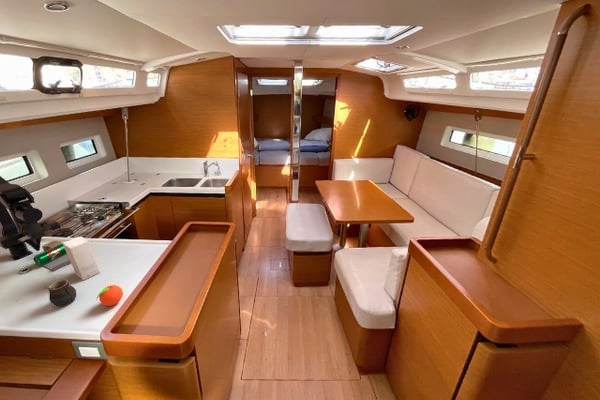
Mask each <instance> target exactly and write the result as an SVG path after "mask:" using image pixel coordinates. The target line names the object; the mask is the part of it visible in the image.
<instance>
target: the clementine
mask: <svg viewBox="0 0 600 400" xmlns="http://www.w3.org/2000/svg"><path fill="white" fill-rule="evenodd" d="M123 291H124V290H123V289H122V287H120V286H119V285H116V284H112V285H111V284H109V285H108V286H106V287H104V288H103V289H102V290H100V292H99V293H98V295H97V296H96V301H98V299H99V302H100V303H101V304H102V305H104V306H106V307H107V306H114V305H117V304H118V303H119V302H120V301H121V299H122V298H123V295H124V292H123Z"/></svg>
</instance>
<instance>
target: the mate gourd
mask: <svg viewBox="0 0 600 400" xmlns="http://www.w3.org/2000/svg"><path fill="white" fill-rule="evenodd" d="M44 289H47V290H48V291H49V297H48V298H49V300H48V301H49V302H50V303H51V304H52V305H54V307H65V306H68V305H70V304H72V303H73V302H74V301H75V300H76V298H77V289H76V288H74V286H73V285H71V284H70V282H69V280H68V279H60V280H56V281H54V282H52V283H51V284H50V285H49V286H48V287H46V286H45V287H44Z"/></svg>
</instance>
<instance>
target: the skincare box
mask: <svg viewBox="0 0 600 400" xmlns="http://www.w3.org/2000/svg"><path fill="white" fill-rule="evenodd" d="M62 244H63V246H64V248H65V250H66V253H67V255H68V257H69V259H70V262H71V264H70V265H71V266H72V268H73V271H74V273H75V275H76V276H77V277H78V278H80V279H81V280H82V281H86V280H88V279H89V278H92V277H94V276H97V275H99V274H100V273H101V270H100V267H99V266H98V263H97V261H96V258H95V255H94V253H93V249H92V248H91V246H90V242H89V240H87V239H85V238H84V237H82V236H81V235H80V236H78V237H75V238H72V239H70V240H66V241H64V242H62Z"/></svg>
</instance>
